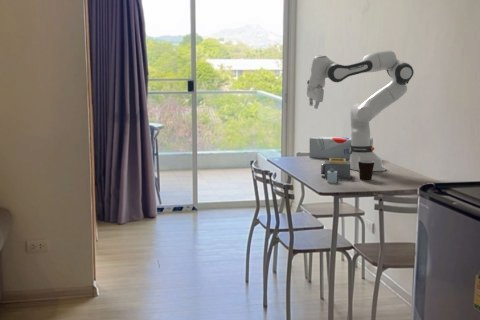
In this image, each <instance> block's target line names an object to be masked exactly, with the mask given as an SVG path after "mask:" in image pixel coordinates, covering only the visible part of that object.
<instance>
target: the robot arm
mask: <svg viewBox="0 0 480 320" xmlns="http://www.w3.org/2000/svg"><path fill="white" fill-rule="evenodd" d="M384 70H386V73H387V74H388V76H389V77H390V78H391V80H389V81H390V82H388V83H387V84H386V85H384V86H383V87H381V88H380V89H378V90H376V91H375V92H374V93H372V94H371V95H370V96H369V97H368V98H367V99H366V100H365V101H364V102H362V103H361V102H356V103H355V104H353V105H352V106H351V107H350V110H349V111H350V128H351V129H350V130H351V136H350V137H351V145H350V160H348V161H350V164H351V165H350V170H354V171H357V172H359V164H358V161H360V160H370V161H374V167H373V172H384V171H386V170H387V168H386V166H384V165H383V161H382V159H381V157H380V156H379V155H377V154H376V153H375V152H374V150H375V147H374V146H373V147H372V146H370V138H371V130H370V129H371V128H370V122H371V121H372V120H373V119H374V118H376V117H377V116H378V115H379V114H380V113H381V112H382V111H384V110H385V109H386V108H388V107H390V106H391V105H392V104H394V103H395V102H397V101H398V100H399V99H401V98H402V96H404V95H405V93H407V91H408V87H407V85H408V84H409V82H410V80H411V79H412V78H413V76H414V74H415V73H414V68H413V67H412V65H411V64H409V63H408V62H405V61H401V60H398V58H397V56H396V53H395V52H394V51H392V50H380V51H376V52H370V53H368V54H366V55H364V56H363V58H362V59H361V60H360V61H358V62H355V63H351V64H347V65H344V64H343V65H342V64H340V63H337V62H335V61H333V60H331V59H330V58H328V56H326V55H315V56H314V57H313V59H312V63H311V68H310V76H309V79H308V80H306V84H307V88H306V95H307V97H308V101H309V104H308V105H309V106H311V107H312V106H314V107H313V108H314V109H315V110H316V109H317V110H318V108H319V105H320V103H323V101H324V94H325V90H324V88H325V83H326V78H328V79H329V80H330V81H331V82H333V83H340V82H342V81H344V80H345V79H348V78H349V77H352V76H356V75H359V74H364V73H374V72H381V71H384ZM314 101H315V103H314Z"/></svg>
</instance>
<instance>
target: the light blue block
mask: <svg viewBox="0 0 480 320" xmlns="http://www.w3.org/2000/svg"><path fill="white" fill-rule="evenodd" d="M326 181H327V183H329V184H330V183H332V184H337V183H338V178H337V171H334V169H330V171H328V172H327V178H326Z"/></svg>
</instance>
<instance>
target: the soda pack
mask: <svg viewBox="0 0 480 320" xmlns="http://www.w3.org/2000/svg"><path fill="white" fill-rule="evenodd" d="M373 142H374V141H373V137H370V146H372V147H374V145H373V144H374V143H373ZM350 145H351V136H350V137H348V136H346V137H345V136H324V135H313V136H312V137H310V138H309V158H313V159H315V158H318V159H329V158H343V159H346V160H347V161H349V160H350Z"/></svg>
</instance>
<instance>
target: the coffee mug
mask: <svg viewBox="0 0 480 320" xmlns="http://www.w3.org/2000/svg"><path fill="white" fill-rule="evenodd" d="M358 164H359V171H358V175H359V177H358V178H359V180H361V181H363V182H364V181H365V182H367V181H372V177H373V173H374V171H373V167H374V161H370V160H360V161H358Z"/></svg>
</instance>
